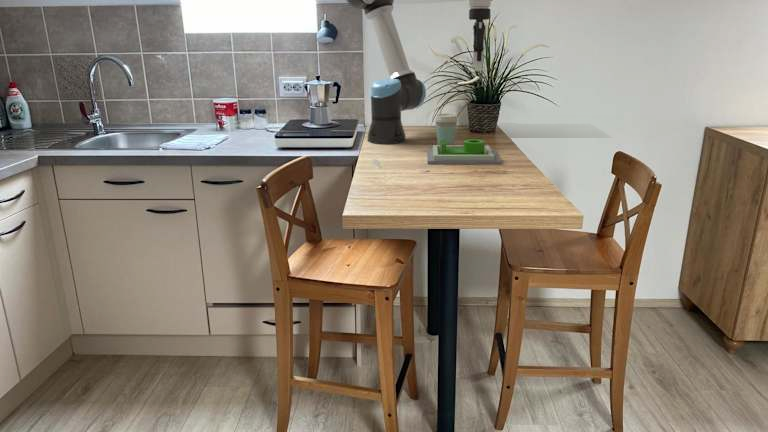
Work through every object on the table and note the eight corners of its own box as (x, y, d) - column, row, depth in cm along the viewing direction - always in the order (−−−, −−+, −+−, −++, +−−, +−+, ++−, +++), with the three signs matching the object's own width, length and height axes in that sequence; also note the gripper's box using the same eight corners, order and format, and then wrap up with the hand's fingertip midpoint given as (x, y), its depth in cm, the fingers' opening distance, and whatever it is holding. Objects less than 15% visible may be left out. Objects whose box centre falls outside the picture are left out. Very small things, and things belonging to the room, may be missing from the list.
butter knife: (380, 158, 201) (371, 158, 201) (394, 179, 176) (384, 179, 176) (379, 160, 202) (371, 160, 201) (394, 181, 176) (384, 181, 176)
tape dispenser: (482, 152, 205) (483, 139, 204) (485, 156, 199) (486, 143, 197) (440, 152, 206) (440, 139, 204) (441, 157, 199) (441, 143, 198)
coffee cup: (456, 145, 223) (457, 113, 219) (457, 149, 215) (458, 117, 211) (434, 144, 224) (434, 113, 220) (434, 149, 216) (434, 117, 212)
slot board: (427, 163, 194) (427, 156, 193) (427, 151, 213) (427, 144, 212) (500, 164, 193) (500, 156, 192) (493, 151, 211) (493, 144, 211)
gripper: (493, 7, 196) (490, 72, 203) (488, 8, 219) (485, 66, 226) (470, 7, 196) (468, 72, 203) (467, 8, 220) (465, 66, 227)
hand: (477, 69), depth 215 cm, fingers open, 13 cm apart
